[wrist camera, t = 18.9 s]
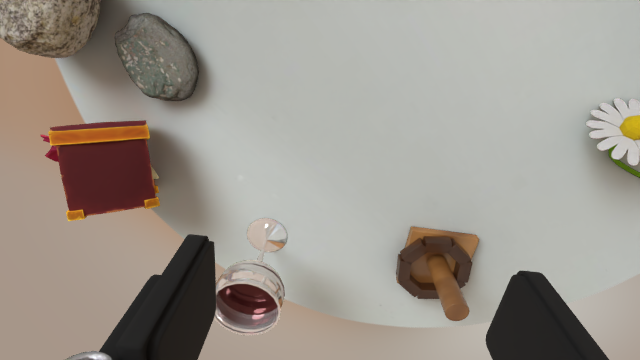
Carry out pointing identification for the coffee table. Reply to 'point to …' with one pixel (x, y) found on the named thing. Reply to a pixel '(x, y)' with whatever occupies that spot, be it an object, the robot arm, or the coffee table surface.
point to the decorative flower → (618, 131)
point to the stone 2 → (157, 58)
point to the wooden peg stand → (443, 270)
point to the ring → (431, 246)
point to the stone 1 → (48, 25)
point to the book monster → (104, 167)
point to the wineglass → (252, 285)
